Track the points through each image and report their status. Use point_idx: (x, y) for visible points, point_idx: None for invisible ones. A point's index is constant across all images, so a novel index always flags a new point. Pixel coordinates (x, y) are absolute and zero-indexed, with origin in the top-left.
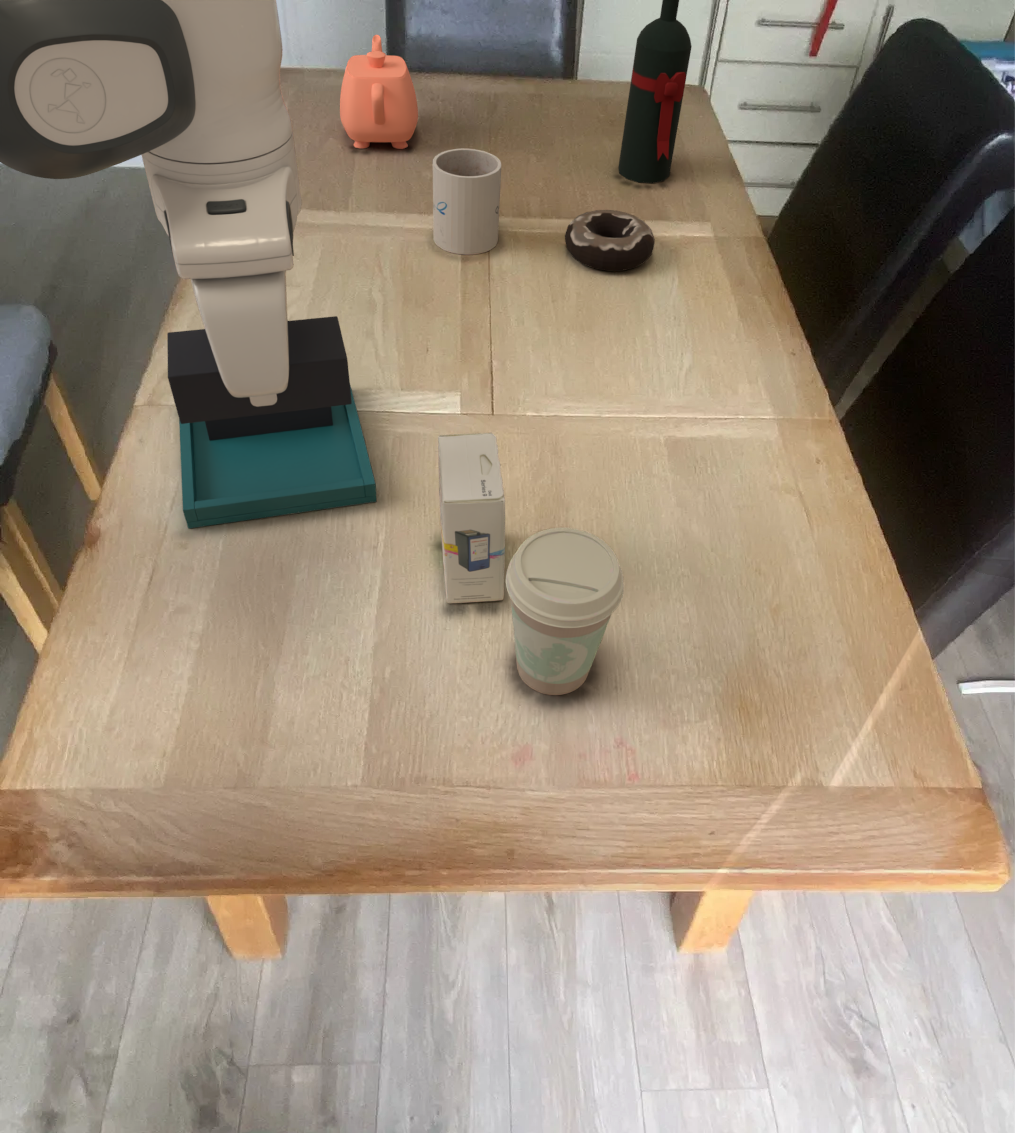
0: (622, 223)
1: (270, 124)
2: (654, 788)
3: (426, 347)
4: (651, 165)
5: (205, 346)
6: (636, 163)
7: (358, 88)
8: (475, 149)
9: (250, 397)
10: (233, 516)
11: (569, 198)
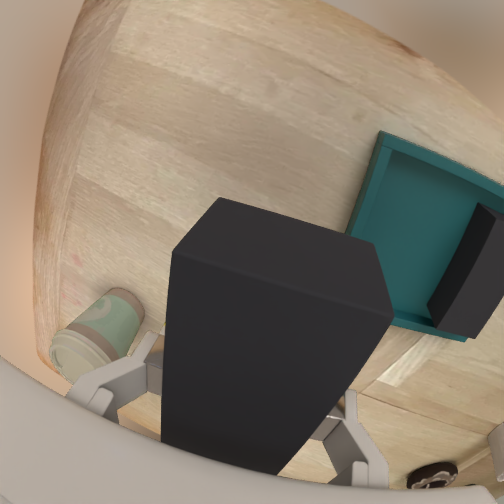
0: (431, 487)
1: None
2: (58, 298)
3: (453, 387)
4: None
5: (275, 364)
6: None
7: None
8: None
9: (141, 340)
10: (367, 175)
11: (480, 468)
